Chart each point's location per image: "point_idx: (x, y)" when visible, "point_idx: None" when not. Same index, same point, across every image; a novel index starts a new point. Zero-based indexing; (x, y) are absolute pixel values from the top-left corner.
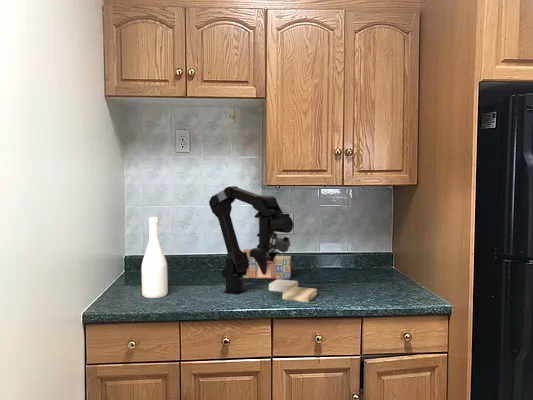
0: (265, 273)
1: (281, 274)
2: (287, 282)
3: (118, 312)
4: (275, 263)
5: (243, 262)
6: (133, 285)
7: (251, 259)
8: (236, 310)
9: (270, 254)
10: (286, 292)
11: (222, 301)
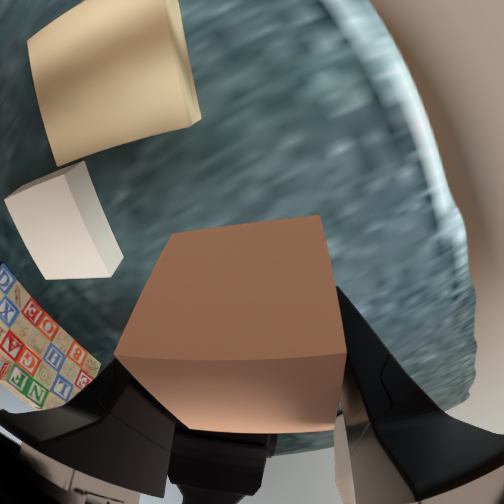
0: (340, 290)
1: (12, 292)
2: (39, 222)
3: (467, 386)
4: (128, 331)
5: (219, 443)
6: (308, 443)
7: (62, 394)
8: (463, 227)
9: (117, 464)
10: (174, 105)
11: (369, 318)
